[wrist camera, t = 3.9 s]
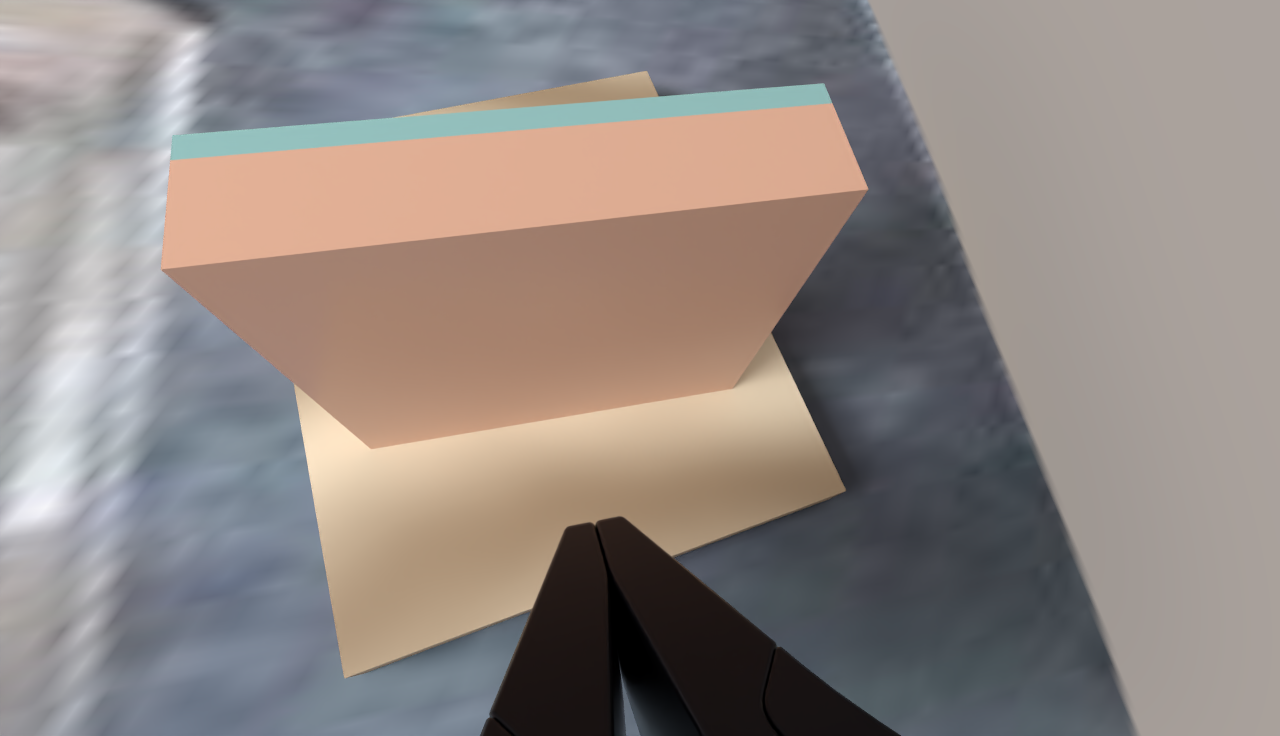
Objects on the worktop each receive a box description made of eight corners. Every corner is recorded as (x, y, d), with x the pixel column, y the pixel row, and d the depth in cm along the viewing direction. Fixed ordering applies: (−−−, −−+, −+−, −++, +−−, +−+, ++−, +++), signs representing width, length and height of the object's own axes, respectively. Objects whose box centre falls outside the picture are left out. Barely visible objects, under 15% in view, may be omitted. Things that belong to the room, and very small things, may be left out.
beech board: (827, 499, 16) (846, 490, 15) (362, 674, 14) (344, 678, 13) (642, 99, 21) (646, 71, 20) (271, 172, 18) (253, 143, 17)
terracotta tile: (732, 389, 16) (868, 189, 9) (370, 449, 14) (160, 269, 7) (713, 321, 17) (824, 83, 9) (367, 371, 15) (172, 135, 8)
